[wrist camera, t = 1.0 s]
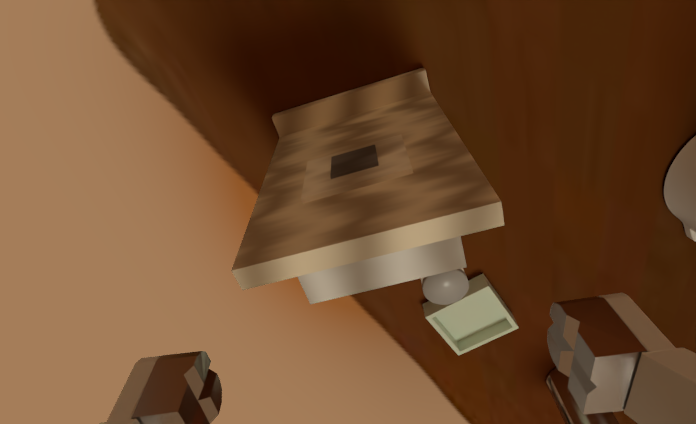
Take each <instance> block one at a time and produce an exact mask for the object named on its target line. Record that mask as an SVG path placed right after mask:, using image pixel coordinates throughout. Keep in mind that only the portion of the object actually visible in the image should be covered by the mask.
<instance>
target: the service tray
mask: <svg viewBox="0 0 696 424" xmlns="http://www.w3.org/2000/svg"><path fill="white" fill-rule="evenodd" d="M468 282H469V289H468V291H467V293H466V295H465V296H464V297H463V298H462V299H460V300H459V301H457V302H455V303H452V304H447V305H439V304H435V303H432V302H431V301H428V302H426V303H424V304H422V305H423V309H424V313H425V318H426V319H427V320H428V321H429V322H430V323H431V324H432V326H433V327H434V328H435V329H436V330H437V331H438V333H439V334H440V335H441V336H442V337H443V338H444V339H445V341H446V342H447V343H448V344H449V345H450V346H451V348H452V349H453V350H454V351H455V352H456V353H457V354H458V356H459V355H461V354H463V353H465V352H468V351H470V350H472V349H474V348H476V347H478V346H481V345H483V344H485V343H487V342H489V341H492V340H494V339H496V338H498V337H500V336H503V335H505V334H507V333H509V332H511V331H513V330H516V329H518V328H519V327H518V325H517V323H516V321H515V319H514V317H513V314H512V313H511V312H510V310H509V309H508V308H507V306H506V305H505V303H504V302H503V301H502V299H501V298H500V296H499V295H498V294H497V292H496V291H495V289H494V288H493V287H492V285H491V284H490V282H489V281H488V280H487V278H486V277H485V275H484V274H483V273H482V274H481V275H479V276H477V277H475V278H473V279H471V280H469V281H468Z"/></svg>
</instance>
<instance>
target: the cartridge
mask: <svg viewBox="0 0 696 424" xmlns="http://www.w3.org/2000/svg"><path fill="white" fill-rule="evenodd" d="M421 282H422V288H423V292H424V295H425V297H426V298H427V299H428V300H429V301H431V302H432V303H435V304H439V305H447V304H452V303H455V302H457V301H459V300H460V299H462V298H463V297H464V296H465V295H466V293H467V291H468V289H469V282H468V279H467V277H466V274H465V273H464V270H463V268H461V269H457V270H453V271H448V272H444V273H440V274H436V275H432V276H427V277H423V278H421Z"/></svg>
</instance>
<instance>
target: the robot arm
mask: <svg viewBox="0 0 696 424" xmlns="http://www.w3.org/2000/svg"><path fill="white" fill-rule="evenodd" d="M664 198H665V202H666V204H667V206H668V208H669V210H670V211H671V212H672V213H673V214H674V215H675V216H676V217H677V218H679V219H680V220H681V221H682V222H683V225H684V229H685V233H686V235H687V236H688V237H689V238H690V239H692V240H693V241H695V242H696V136H694V137H693V138H692V139H691V140H690V141H689V142H688V143H687V144H686V145H685V146H684V147H683V149H682V150H681V151H680V152H679V154H678V155H677V156H676V158H675V159H674V161H673V163H672V165H671V167H670V169H669V171H668V173H667V176H666V179H665V184H664ZM550 316H551V318H552V319H553V321H554V324H553V325H552V326H551V327H550V328H549V329H548V337H547V341H548V346H549V352H550V354H551V357H552V359H553V362H554V363H555V365H556V367H557V369H558V370H559V371H560V372H562V373H563V374H565V375H566V376H568V377H569V383H568V389H569V391H570V392H571V394H572V396H573V398H574V399H575V401H576V403H577V405H578V406H579V408H580V410H581V412H582V413H583V415H584V414H594V413H605V412H615V411H624V413H625V414H626V415H628V416H629V417H630V418H632V419H633V420H634V421H635V422H637V423H638V424H696V353H693V352H691V351H689V350H687V349H685V348H675V347H674V346H673V345H672V343H671V342H670V341H669V340H668V339H667V338H666V337H665V336H664V335H663V334H662V332H661V331H660V330H659V329H658V328H657V327H656V326H655V325H654V324H653V323H652V321H651V320H650V319H649V318H648V317H647V316H646V315H645V314H644V313H643V312H642V310H641V309H640V308H639V307H638V306H637V305H636V304H635V303H634V302H633V301H632V299H631V298H630V297H629V296H628V295H626V294H624V293H616V294H610V295H603V296H598V297H597V296H595V297H588V298H581V299H575V300H568V301H561V302H554V303H553V305H552V306H551V311H550ZM210 362H211V361H210V359H209V357H208V355H207V353H206V352H203V351H199V352H190V353H181V354H172V355H163V356H157V357H148V358H141V359H140V360H139V361H138V362H137V363H136V364H135V365H134V368H133V369H132V372H131V373H130V375H129V378H128V380H127V382H126V384H125V386H124V388H123V390H122V392H121V394H120V396H119V398H118V400H117V402H116V404H115V406H114V408H113V410H112V412H111V414H110V416H109V418H108V420H107V422H105V423H100V424H210V423H211V422H212V421H213V420H214V419H215V418H216V417H217V416H218V414H219V411H220V406H221V402H222V399H221V398H222V388H221V383H220V380H219V377H218V375H217V373H215V372H213V371H212V370H210V369H209V366H210Z"/></svg>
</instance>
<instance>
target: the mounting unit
mask: <svg viewBox="0 0 696 424" xmlns="http://www.w3.org/2000/svg"><path fill="white" fill-rule="evenodd" d="M272 120H273V123H274V125H275V127H276V130H277V132H278V135H279V137H280V138H279V140H278V143H277V146H276V149H275V152H274V154H273V157H272V160H271V163H270V165H269V168H268V171H267V174H266V176H265V179H264V182H263V185H262V187H261V190H260V193H259V196H258V199H257V201H256V204H255V207H254V210H253V212H252V215H251V218H250V221H249V224H248V226H247V229H246V232H245V234H244V238H243V240H242V243H241V246H240V249H239V251H238V254H237V257H236V259H235V262H234V265H233V268H232V273H233V274H234V276H235V278H236V280H237V281H238V283H239V285H240V287H241V288H242V290H245V289H249V288H253V287H257V286H261V285H265V284H269V283H273V282H277V281H281V280H286V279H290V278H294V277H298V279H299V281H300V283H301V285H302V287H303V289H304V291H305V294H306V296H307V298H308V300H309V302H310V304H313V303H318V302H322V301H326V300H330V299H335V298H339V297H343V296H347V295H351V294H356V293H360V292H364V291H368V290H373V289H377V288H381V287H385V286H389V285H394V284H398V283H402V282H406V281H411V280H415V279H419V278H423V277H427V276H432V275H436V274H440V273H444V272H448V271H453V270H457V269H461V268H465V267H467V266H466V262H465V257H464V252H463V247H462V242H461V237H460V236H463V235H467V234H471V233H475V232H479V231H483V230H487V229H491V228H495V227H499V226H503V225H504V219H503V212H502V204H501V201H500V199H499V197H498V196H497V194H496V193H495V191H494V190H493V188H492V187H491V185H490V184H489V182H488V181H487V179H486V177H485V176H484V174H483V173H482V171H481V170H480V168H479V167H478V165H477V164H476V162H475V160H474V159H473V157H472V156H471V154H470V153H469V151H468V150H467V148H466V147H465V145H464V144H463V142H462V140H461V139H460V137H459V136H458V134H457V133H456V131H455V130H454V128H453V127H452V125H451V123H450V122H449V120H448V119H447V117H446V116H445V114H444V113H443V111H442V110H441V108H440V107H439V105H438V103H437V102H436V100H435V99H434V97H433V96H432V94H431V93H430V89H429V84H428V79H427V74H426V70H425V69H424V68H420V69H417V70H414V71H411V72H407V73H404V74H401V75H398V76H395V77H391V78H388V79H385V80H382V81H378V82H375V83H372V84H369V85H366V86H362V87H359V88H356V89H353V90H349V91H346V92H343V93H340V94H337V95H333V96H330V97H327V98H324V99H320V100H317V101H314V102H311V103H308V104H304V105H301V106H298V107H295V108H291V109H288V110H285V111H282V112H279V113H275V114H273V116H272Z"/></svg>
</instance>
